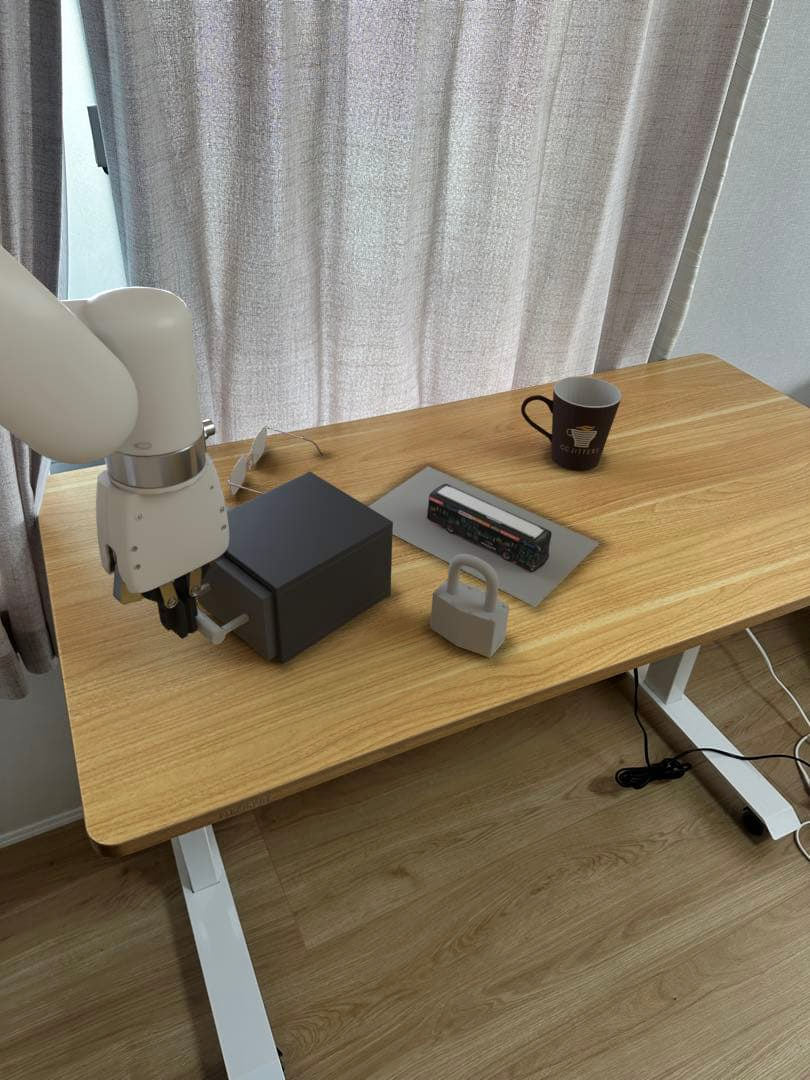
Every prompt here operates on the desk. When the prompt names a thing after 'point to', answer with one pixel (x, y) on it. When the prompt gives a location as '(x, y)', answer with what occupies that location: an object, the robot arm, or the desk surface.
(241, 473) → the eyeglasses
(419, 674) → the desk surface
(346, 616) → the dark grey cabinet
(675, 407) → the desk surface
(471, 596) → the padlock
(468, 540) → the grey desk mat
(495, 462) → the desk surface
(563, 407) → the coffee mug
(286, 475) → the desk surface
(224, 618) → the drawer
